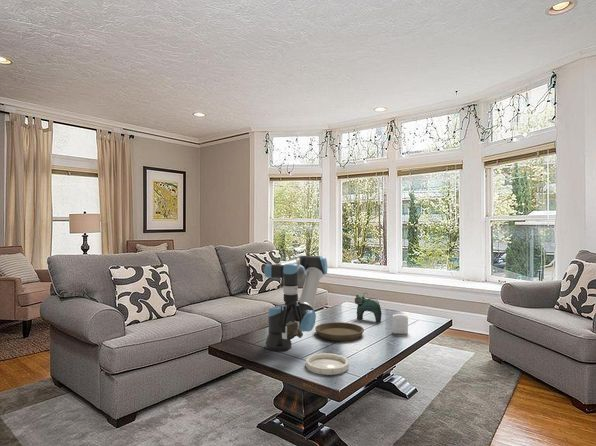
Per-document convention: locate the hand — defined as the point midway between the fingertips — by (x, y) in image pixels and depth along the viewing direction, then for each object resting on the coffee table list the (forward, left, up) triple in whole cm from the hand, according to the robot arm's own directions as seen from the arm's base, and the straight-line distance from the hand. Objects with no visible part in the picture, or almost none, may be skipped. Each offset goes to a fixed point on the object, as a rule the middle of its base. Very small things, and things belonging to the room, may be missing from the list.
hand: (290, 336), depth 195 cm
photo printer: (+28, +80, -13) cm, 85 cm away
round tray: (+20, +4, -12) cm, 24 cm away
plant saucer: (-2, +54, -13) cm, 55 cm away
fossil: (0, 0, -1) cm, 1 cm away
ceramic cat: (-3, +98, -13) cm, 99 cm away
